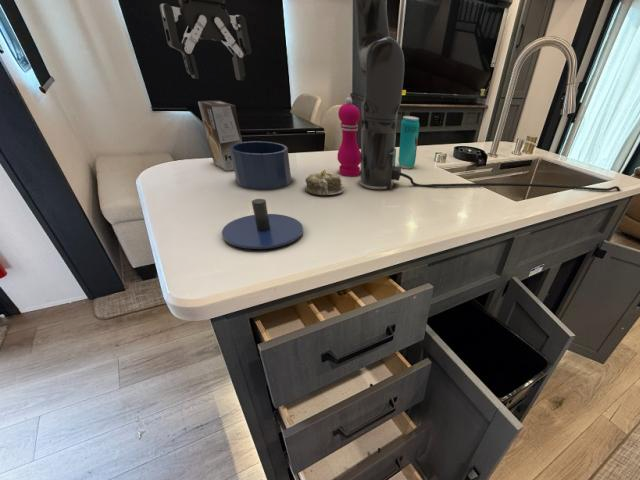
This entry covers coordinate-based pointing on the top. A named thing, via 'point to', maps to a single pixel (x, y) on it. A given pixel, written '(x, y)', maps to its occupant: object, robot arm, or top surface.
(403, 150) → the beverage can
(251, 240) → the lid
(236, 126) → the coffee box
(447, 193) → the top surface
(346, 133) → the pepper mill
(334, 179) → the cake
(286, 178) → the tin
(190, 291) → the top surface
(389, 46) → the robot arm
